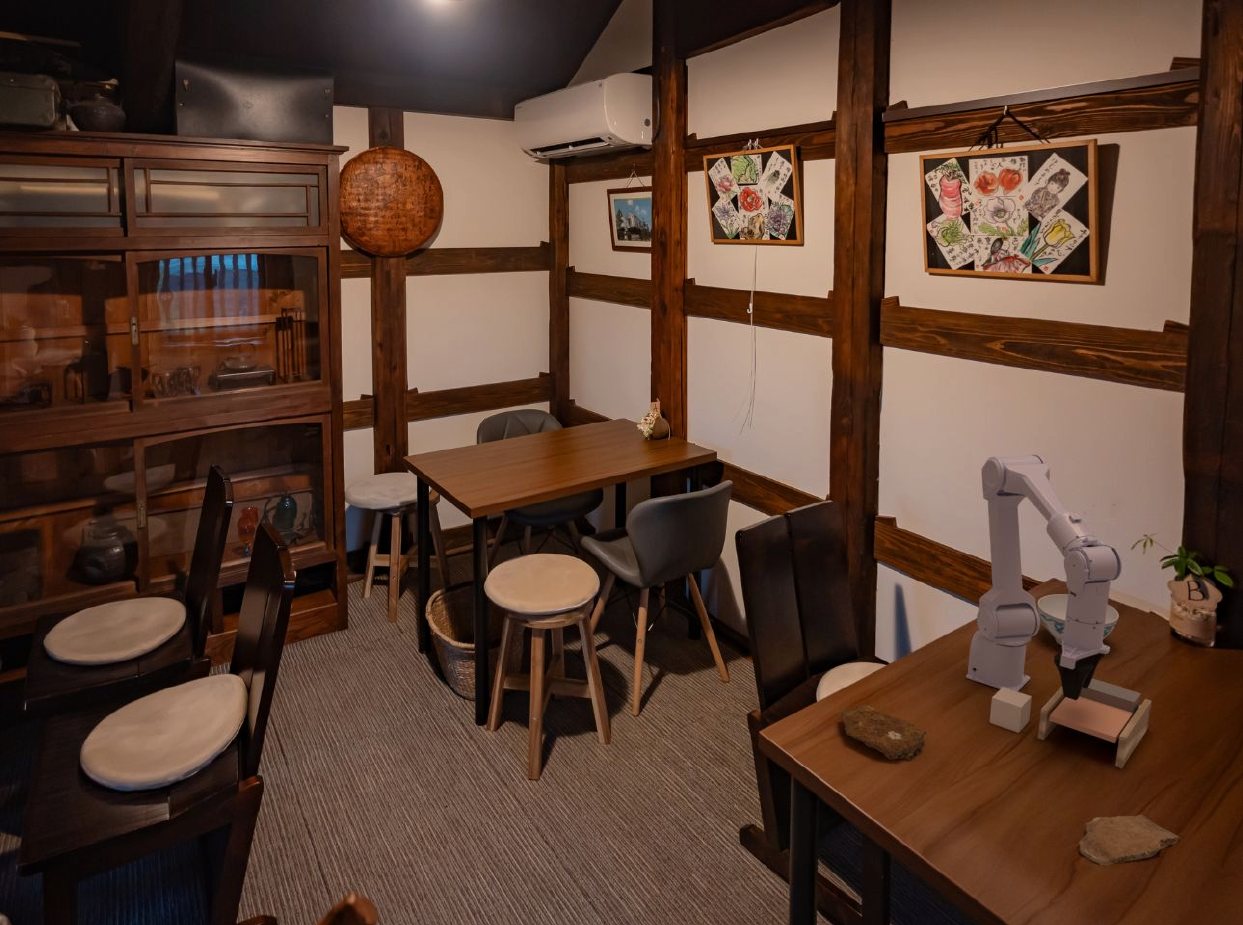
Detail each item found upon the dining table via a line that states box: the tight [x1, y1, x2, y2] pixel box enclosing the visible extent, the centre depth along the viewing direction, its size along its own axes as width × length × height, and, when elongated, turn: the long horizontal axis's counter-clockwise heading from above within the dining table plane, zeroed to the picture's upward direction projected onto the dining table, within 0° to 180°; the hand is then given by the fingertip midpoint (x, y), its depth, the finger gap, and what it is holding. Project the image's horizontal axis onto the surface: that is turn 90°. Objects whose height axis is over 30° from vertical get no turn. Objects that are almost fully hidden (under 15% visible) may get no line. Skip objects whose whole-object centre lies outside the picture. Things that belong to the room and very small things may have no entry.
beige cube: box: [989, 687, 1033, 734], centre depth 153 cm, size 5×5×5 cm
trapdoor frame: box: [1037, 685, 1152, 769], centre depth 149 cm, size 13×16×6 cm
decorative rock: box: [839, 703, 927, 762], centre depth 149 cm, size 11×4×15 cm
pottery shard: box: [1077, 814, 1181, 866], centre depth 124 cm, size 8×3×15 cm
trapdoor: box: [1049, 678, 1142, 744], centre depth 148 cm, size 10×14×3 cm
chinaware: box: [1037, 593, 1120, 646], centre depth 182 cm, size 15×15×8 cm
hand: (1075, 691), depth 145 cm, fingers open, 5 cm apart
